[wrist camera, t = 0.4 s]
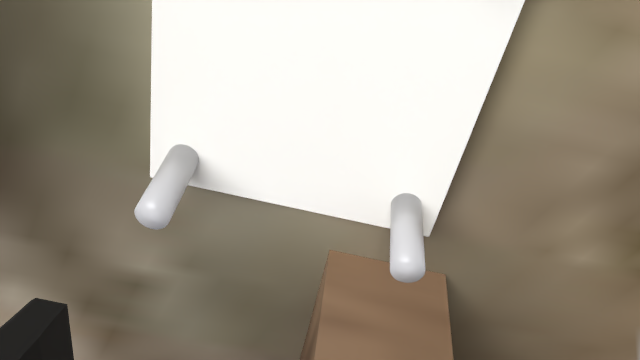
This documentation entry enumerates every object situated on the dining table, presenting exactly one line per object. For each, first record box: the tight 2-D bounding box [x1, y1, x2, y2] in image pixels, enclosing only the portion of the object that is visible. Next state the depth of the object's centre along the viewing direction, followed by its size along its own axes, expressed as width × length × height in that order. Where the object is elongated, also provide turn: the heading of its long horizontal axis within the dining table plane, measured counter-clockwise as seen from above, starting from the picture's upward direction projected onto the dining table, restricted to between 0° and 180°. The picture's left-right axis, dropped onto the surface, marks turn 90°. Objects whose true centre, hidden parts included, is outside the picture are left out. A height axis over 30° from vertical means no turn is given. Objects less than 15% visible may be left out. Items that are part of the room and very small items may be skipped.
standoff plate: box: [135, 0, 525, 283], centre depth 15 cm, size 12×10×4 cm
